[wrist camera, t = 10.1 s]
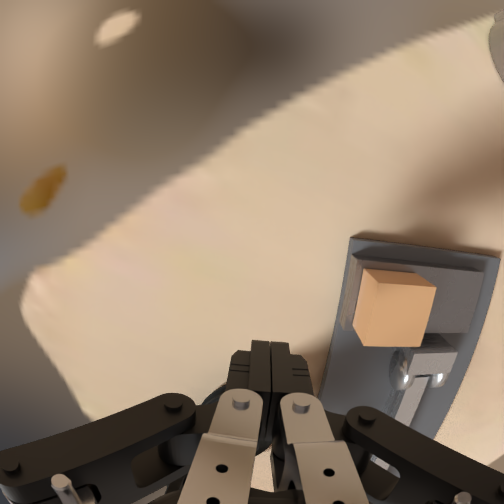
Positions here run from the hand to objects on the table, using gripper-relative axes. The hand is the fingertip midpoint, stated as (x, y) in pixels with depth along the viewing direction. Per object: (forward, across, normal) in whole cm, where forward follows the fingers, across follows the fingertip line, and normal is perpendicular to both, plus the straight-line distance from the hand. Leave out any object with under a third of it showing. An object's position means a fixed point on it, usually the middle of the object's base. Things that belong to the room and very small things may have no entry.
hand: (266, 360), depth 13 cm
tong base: (+10, -11, +11) cm, 18 cm away
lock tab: (+8, -8, 0) cm, 11 cm away
